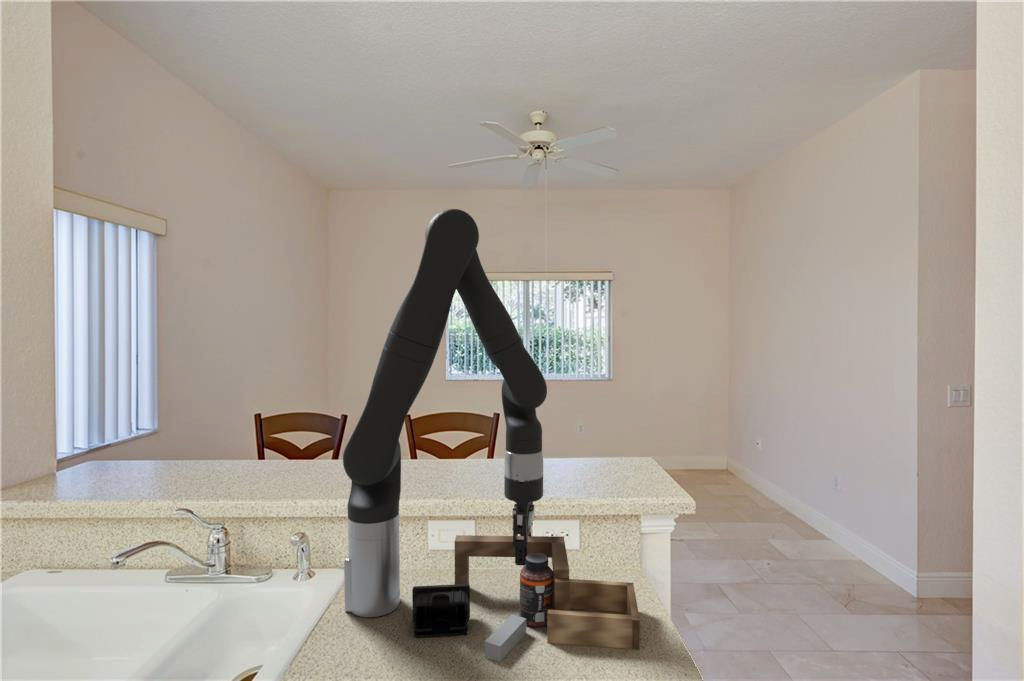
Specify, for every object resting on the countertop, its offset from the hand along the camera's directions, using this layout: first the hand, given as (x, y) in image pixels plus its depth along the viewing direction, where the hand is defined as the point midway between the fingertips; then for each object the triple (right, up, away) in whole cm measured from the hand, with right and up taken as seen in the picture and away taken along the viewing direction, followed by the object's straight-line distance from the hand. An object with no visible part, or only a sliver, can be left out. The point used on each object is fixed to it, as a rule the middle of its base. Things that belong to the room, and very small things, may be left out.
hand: (523, 554), depth 111 cm
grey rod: (-3, -9, -17) cm, 19 cm away
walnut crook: (-3, -8, -6) cm, 10 cm away
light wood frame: (+12, -8, -11) cm, 18 cm away
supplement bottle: (+2, -8, -9) cm, 12 cm away
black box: (-15, -8, -11) cm, 20 cm away
